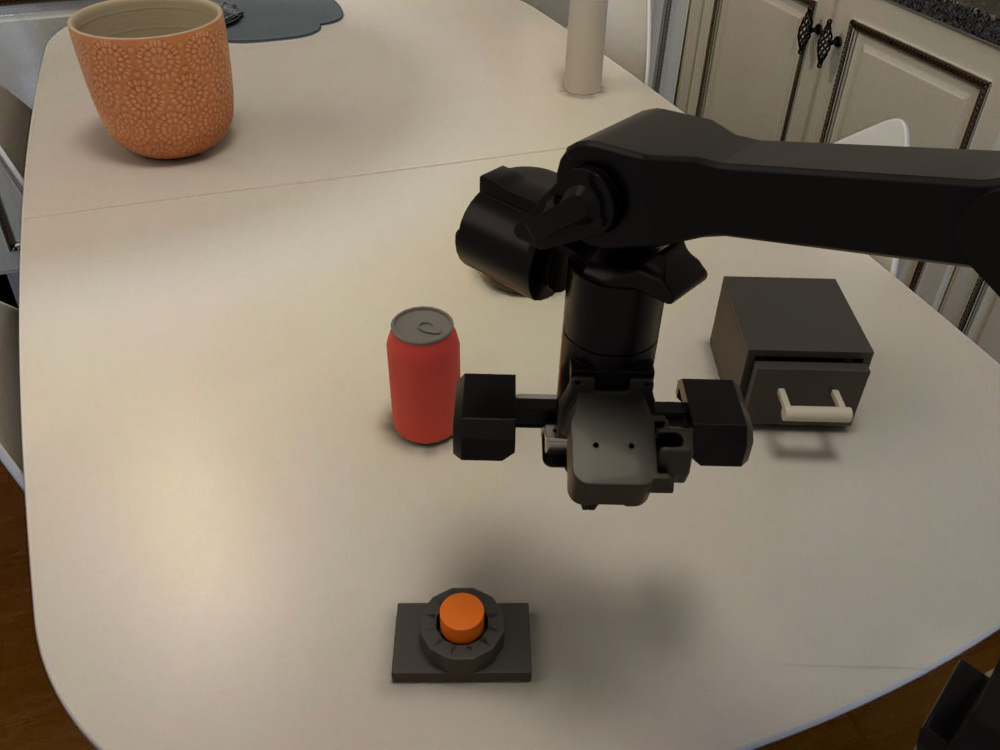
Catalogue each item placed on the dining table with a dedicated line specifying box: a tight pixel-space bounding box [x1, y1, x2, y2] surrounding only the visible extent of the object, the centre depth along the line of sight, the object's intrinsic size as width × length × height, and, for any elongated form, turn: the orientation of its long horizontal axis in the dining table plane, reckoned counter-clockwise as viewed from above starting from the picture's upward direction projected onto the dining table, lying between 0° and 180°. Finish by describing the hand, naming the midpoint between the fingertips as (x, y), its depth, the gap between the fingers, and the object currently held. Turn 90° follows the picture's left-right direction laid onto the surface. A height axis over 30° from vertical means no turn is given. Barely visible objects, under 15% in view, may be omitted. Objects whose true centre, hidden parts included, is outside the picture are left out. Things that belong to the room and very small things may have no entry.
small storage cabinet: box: [709, 275, 875, 399], centre depth 86 cm, size 13×12×9 cm
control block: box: [391, 587, 533, 683], centre depth 63 cm, size 10×6×3 cm, turn 91°
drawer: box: [744, 356, 871, 427], centre depth 83 cm, size 15×10×7 cm
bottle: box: [563, 0, 609, 96], centre depth 144 cm, size 7×7×28 cm
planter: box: [66, 0, 235, 160], centre depth 126 cm, size 21×21×19 cm
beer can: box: [385, 305, 461, 445], centre depth 79 cm, size 7×7×12 cm
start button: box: [440, 593, 484, 644], centre depth 62 cm, size 3×3×2 cm
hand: (587, 505), depth 61 cm, fingers closed
